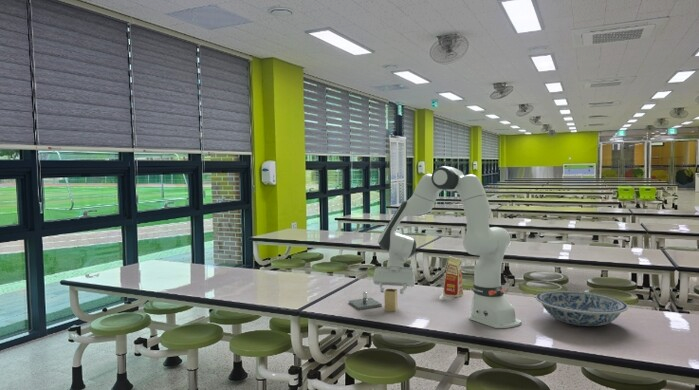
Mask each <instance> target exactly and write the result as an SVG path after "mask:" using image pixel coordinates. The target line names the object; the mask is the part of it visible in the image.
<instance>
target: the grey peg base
mask: <svg viewBox="0 0 699 390" xmlns="http://www.w3.org/2000/svg"><path fill="white" fill-rule="evenodd" d="M348 303H349V304H350V305H351V306H352V307H354V308H355V309H357V310H358V311H359V310H366V309H373V308H378V307H380V308H381V307H382V303H381V302H379V301H378V300H376V299H375V298H373V297H368V291H362V298H359V299H350V300H348Z"/></svg>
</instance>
